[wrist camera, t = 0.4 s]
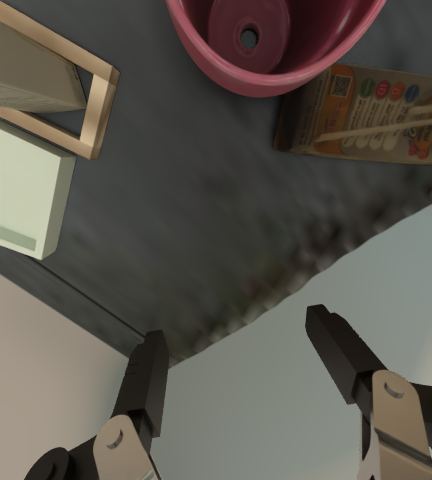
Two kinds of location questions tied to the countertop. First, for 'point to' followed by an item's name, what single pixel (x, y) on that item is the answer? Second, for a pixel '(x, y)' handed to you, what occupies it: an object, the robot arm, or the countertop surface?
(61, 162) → the sage tray
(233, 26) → the plant pot
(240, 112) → the countertop surface
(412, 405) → the robot arm
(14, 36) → the skincare box
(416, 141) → the printed cardboard box
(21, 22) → the wooden frame
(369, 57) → the countertop surface
